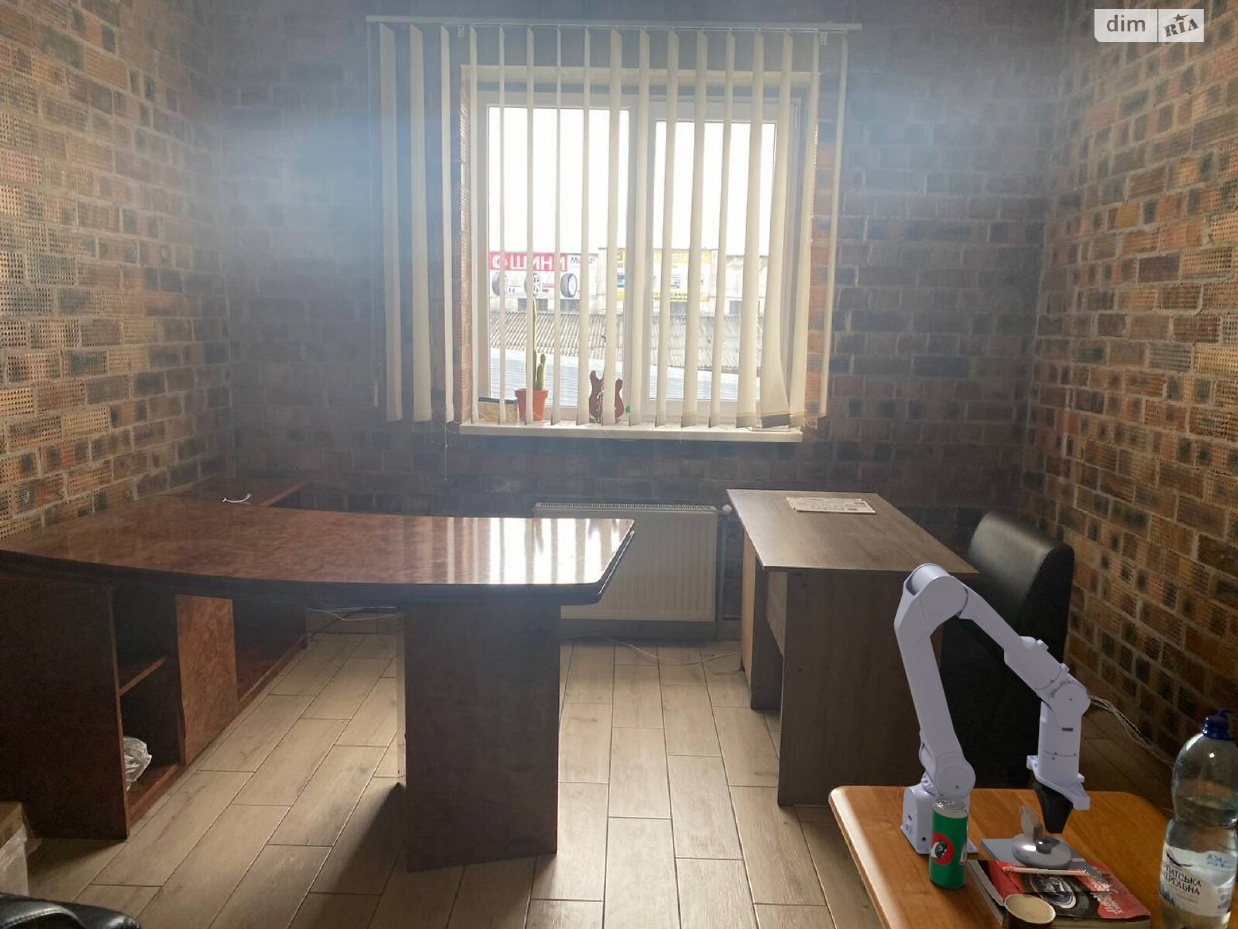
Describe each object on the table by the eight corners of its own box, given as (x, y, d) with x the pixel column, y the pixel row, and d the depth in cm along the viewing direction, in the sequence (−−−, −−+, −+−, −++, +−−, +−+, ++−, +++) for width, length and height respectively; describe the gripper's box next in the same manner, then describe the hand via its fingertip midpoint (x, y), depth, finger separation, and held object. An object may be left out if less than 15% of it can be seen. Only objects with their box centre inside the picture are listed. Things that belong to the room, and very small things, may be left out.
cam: (1077, 873, 131) (1079, 850, 130) (1019, 867, 132) (1020, 845, 132) (1049, 825, 145) (1051, 804, 144) (997, 820, 146) (998, 799, 146)
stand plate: (1021, 893, 128) (1022, 886, 128) (980, 845, 141) (980, 838, 141) (1109, 891, 128) (1110, 884, 128) (1060, 843, 141) (1061, 837, 141)
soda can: (968, 893, 128) (972, 813, 127) (931, 889, 129) (934, 809, 127) (961, 873, 133) (965, 797, 131) (926, 869, 134) (929, 793, 132)
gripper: (1111, 769, 132) (1106, 855, 133) (1058, 729, 146) (1053, 808, 148) (1065, 770, 131) (1060, 857, 133) (1016, 730, 146) (1012, 809, 147)
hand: (1053, 831), depth 140 cm, fingers closed
